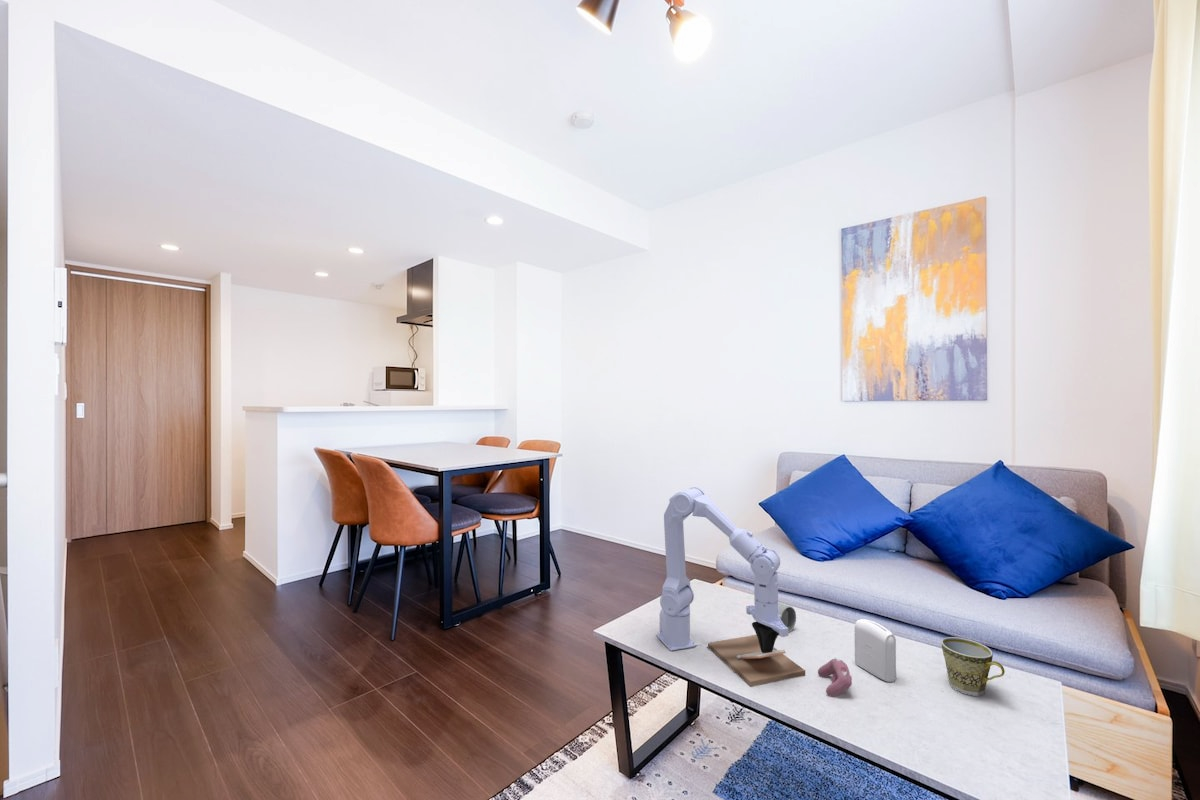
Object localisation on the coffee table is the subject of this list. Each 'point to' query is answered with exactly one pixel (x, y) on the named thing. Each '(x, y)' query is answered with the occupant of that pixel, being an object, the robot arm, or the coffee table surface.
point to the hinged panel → (761, 654)
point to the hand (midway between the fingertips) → (766, 652)
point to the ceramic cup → (968, 665)
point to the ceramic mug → (787, 616)
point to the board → (754, 661)
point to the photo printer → (875, 649)
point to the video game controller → (836, 676)
